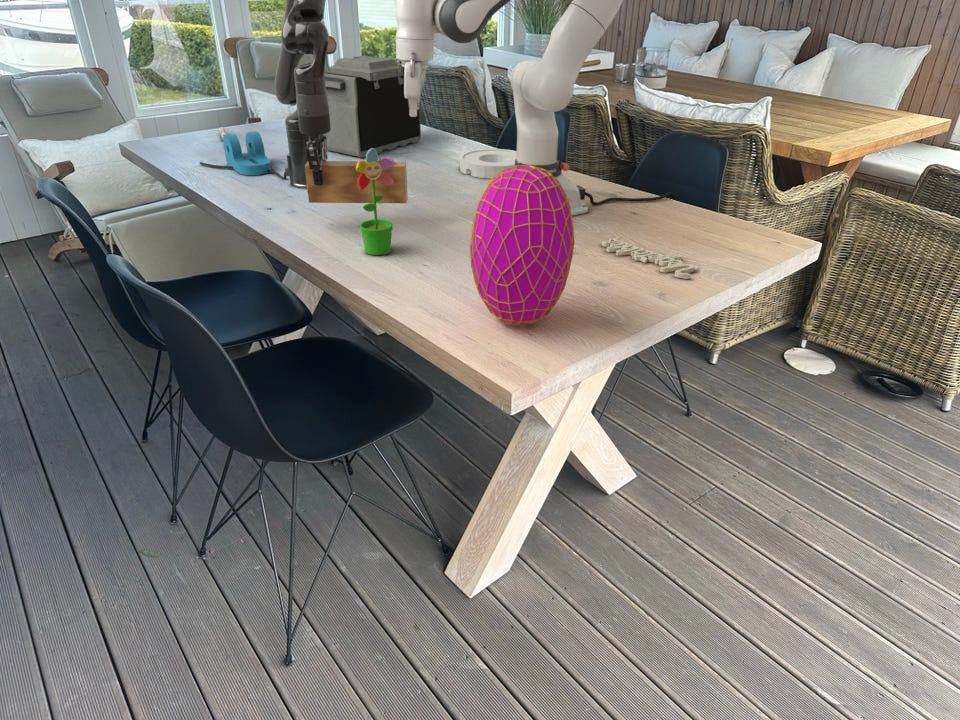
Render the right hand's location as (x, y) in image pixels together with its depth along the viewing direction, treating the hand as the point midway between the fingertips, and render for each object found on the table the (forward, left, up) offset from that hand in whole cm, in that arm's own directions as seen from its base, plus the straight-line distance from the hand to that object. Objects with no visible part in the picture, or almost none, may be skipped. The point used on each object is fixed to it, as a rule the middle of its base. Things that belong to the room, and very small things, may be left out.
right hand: (414, 112), depth 169 cm
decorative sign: (-45, +42, -29) cm, 68 cm away
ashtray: (-40, -44, -29) cm, 66 cm away
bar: (+15, -3, -22) cm, 26 cm away
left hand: (+24, -7, -17) cm, 30 cm away
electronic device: (-10, -90, -29) cm, 95 cm away
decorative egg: (-2, +60, -29) cm, 67 cm away
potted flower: (+15, +15, -29) cm, 36 cm away
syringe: (+41, -118, -29) cm, 128 cm away
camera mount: (+36, -72, -29) cm, 85 cm away
